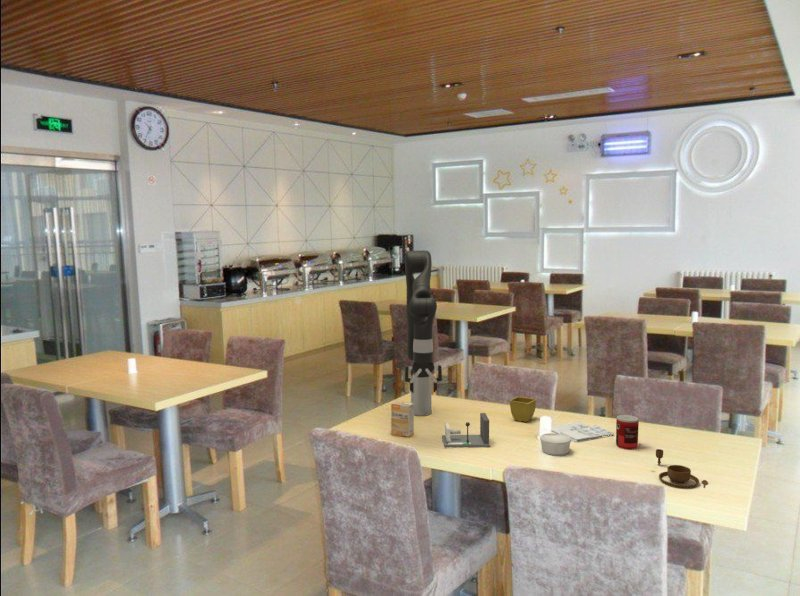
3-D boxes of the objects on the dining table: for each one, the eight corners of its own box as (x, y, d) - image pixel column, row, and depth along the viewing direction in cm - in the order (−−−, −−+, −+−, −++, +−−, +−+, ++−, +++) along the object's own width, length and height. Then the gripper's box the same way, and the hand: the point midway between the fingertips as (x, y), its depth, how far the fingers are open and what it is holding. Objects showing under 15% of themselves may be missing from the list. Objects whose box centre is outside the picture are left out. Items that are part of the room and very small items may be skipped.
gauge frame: (442, 437, 256) (441, 412, 254) (484, 436, 256) (484, 412, 255) (444, 447, 244) (444, 422, 243) (489, 447, 244) (489, 421, 243)
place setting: (646, 485, 208) (647, 467, 207) (653, 464, 226) (653, 448, 225) (707, 494, 200) (707, 476, 200) (708, 472, 218) (709, 455, 217)
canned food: (621, 441, 249) (622, 413, 248) (641, 446, 243) (642, 417, 242) (611, 446, 243) (612, 417, 242) (632, 451, 238) (633, 422, 237)
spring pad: (444, 434, 254) (444, 422, 253) (459, 434, 254) (459, 422, 253) (447, 443, 244) (447, 430, 244) (461, 442, 244) (461, 429, 244)
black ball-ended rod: (465, 441, 246) (465, 421, 245) (469, 441, 246) (469, 421, 245) (465, 442, 244) (465, 422, 243) (470, 442, 244) (470, 422, 243)
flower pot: (518, 416, 284) (518, 396, 283) (536, 419, 278) (536, 398, 278) (508, 421, 276) (509, 400, 276) (527, 424, 271) (528, 403, 270)
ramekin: (563, 445, 245) (563, 431, 245) (576, 455, 234) (576, 441, 234) (535, 447, 243) (535, 433, 243) (547, 457, 232) (547, 443, 232)
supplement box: (390, 435, 260) (390, 403, 258) (396, 431, 264) (395, 400, 262) (408, 437, 256) (408, 405, 254) (414, 434, 260) (414, 402, 259)
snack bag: (575, 444, 248) (576, 438, 248) (543, 429, 266) (543, 424, 266) (614, 437, 256) (614, 431, 255) (580, 423, 274) (580, 418, 274)
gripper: (441, 348, 249) (441, 389, 251) (404, 348, 249) (404, 390, 251) (442, 351, 242) (442, 394, 244) (404, 352, 242) (405, 395, 244)
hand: (423, 392), depth 247 cm, fingers open, 8 cm apart
